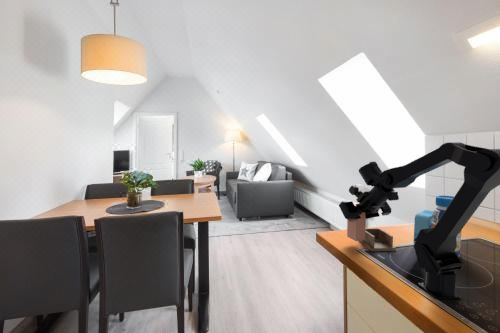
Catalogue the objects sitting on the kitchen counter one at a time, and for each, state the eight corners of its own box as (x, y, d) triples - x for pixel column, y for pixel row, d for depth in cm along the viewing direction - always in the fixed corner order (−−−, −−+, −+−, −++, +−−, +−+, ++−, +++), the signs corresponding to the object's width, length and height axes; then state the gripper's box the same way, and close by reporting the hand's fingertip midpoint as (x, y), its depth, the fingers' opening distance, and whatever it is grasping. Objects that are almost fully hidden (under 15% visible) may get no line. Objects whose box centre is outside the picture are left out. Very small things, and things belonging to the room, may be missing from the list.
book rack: (396, 250, 89) (396, 237, 89) (371, 251, 89) (371, 237, 89) (380, 240, 99) (381, 228, 99) (358, 240, 99) (358, 228, 99)
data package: (427, 249, 90) (428, 217, 89) (413, 245, 94) (414, 214, 93) (438, 241, 98) (439, 211, 97) (424, 238, 101) (426, 209, 100)
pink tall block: (365, 239, 92) (365, 205, 91) (356, 241, 91) (356, 206, 90) (356, 235, 97) (356, 202, 96) (347, 236, 96) (347, 203, 95)
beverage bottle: (433, 246, 93) (436, 193, 91) (462, 253, 87) (466, 197, 85) (427, 253, 87) (430, 197, 86) (457, 261, 81) (461, 201, 79)
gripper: (386, 176, 91) (363, 200, 102) (342, 179, 86) (324, 203, 97) (404, 202, 84) (377, 224, 95) (358, 206, 79) (336, 229, 90)
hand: (353, 219), depth 95 cm, fingers closed on pink tall block, 4 cm apart
